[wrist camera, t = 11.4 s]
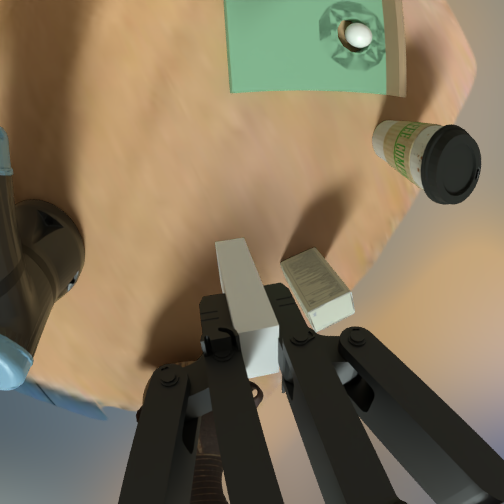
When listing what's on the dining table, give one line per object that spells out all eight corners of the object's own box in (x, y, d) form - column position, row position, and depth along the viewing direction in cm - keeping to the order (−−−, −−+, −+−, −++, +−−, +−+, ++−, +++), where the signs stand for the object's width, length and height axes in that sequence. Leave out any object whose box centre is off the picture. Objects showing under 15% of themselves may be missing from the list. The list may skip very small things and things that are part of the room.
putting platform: (230, 92, 33) (236, 93, 29) (222, -23, 25) (227, -37, 21) (385, 94, 37) (406, 97, 32) (379, -6, 28) (400, -11, 24)
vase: (251, 330, 53) (302, 492, 28) (249, 391, 63) (284, 516, 38) (122, 341, 49) (113, 508, 24) (145, 401, 59) (152, 529, 33)
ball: (354, 45, 29) (378, 49, 30) (353, 19, 27) (377, 24, 28) (340, 46, 32) (363, 49, 33) (339, 22, 30) (362, 26, 31)
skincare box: (286, 282, 49) (313, 334, 39) (278, 261, 47) (306, 313, 37) (322, 266, 49) (356, 314, 39) (316, 244, 47) (351, 291, 37)
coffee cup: (366, 102, 37) (441, 119, 24) (417, 114, 39) (490, 137, 26) (357, 168, 42) (422, 208, 29) (406, 173, 44) (472, 211, 31)
